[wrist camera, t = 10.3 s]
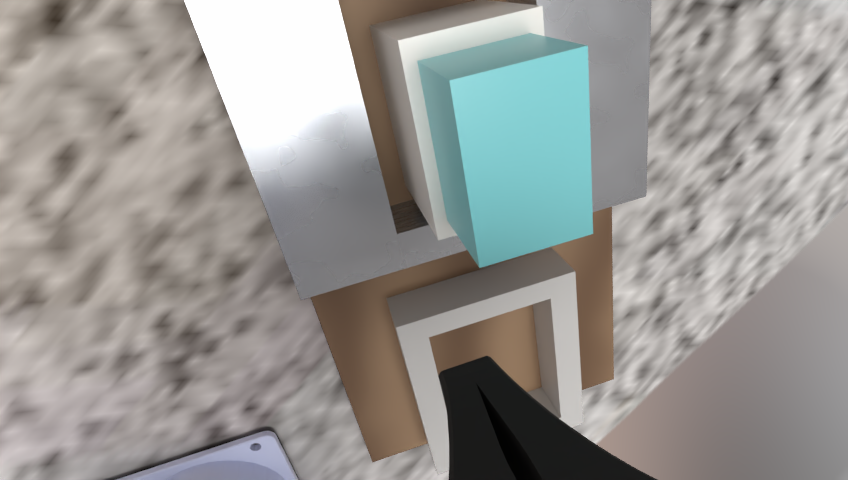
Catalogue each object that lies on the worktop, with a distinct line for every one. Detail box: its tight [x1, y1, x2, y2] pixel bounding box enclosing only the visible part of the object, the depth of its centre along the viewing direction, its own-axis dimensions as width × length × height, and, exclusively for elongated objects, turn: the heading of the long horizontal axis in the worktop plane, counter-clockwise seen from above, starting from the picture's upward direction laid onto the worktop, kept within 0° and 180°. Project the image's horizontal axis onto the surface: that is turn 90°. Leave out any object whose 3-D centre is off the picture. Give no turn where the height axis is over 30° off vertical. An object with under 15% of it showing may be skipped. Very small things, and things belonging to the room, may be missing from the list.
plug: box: [369, 0, 593, 268], centre depth 16 cm, size 4×6×8 cm, turn 11°
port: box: [184, 0, 651, 300], centre depth 18 cm, size 14×11×2 cm
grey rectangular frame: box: [386, 248, 584, 475], centre depth 24 cm, size 8×10×2 cm
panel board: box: [311, 0, 614, 462], centre depth 22 cm, size 14×24×1 cm, turn 11°
